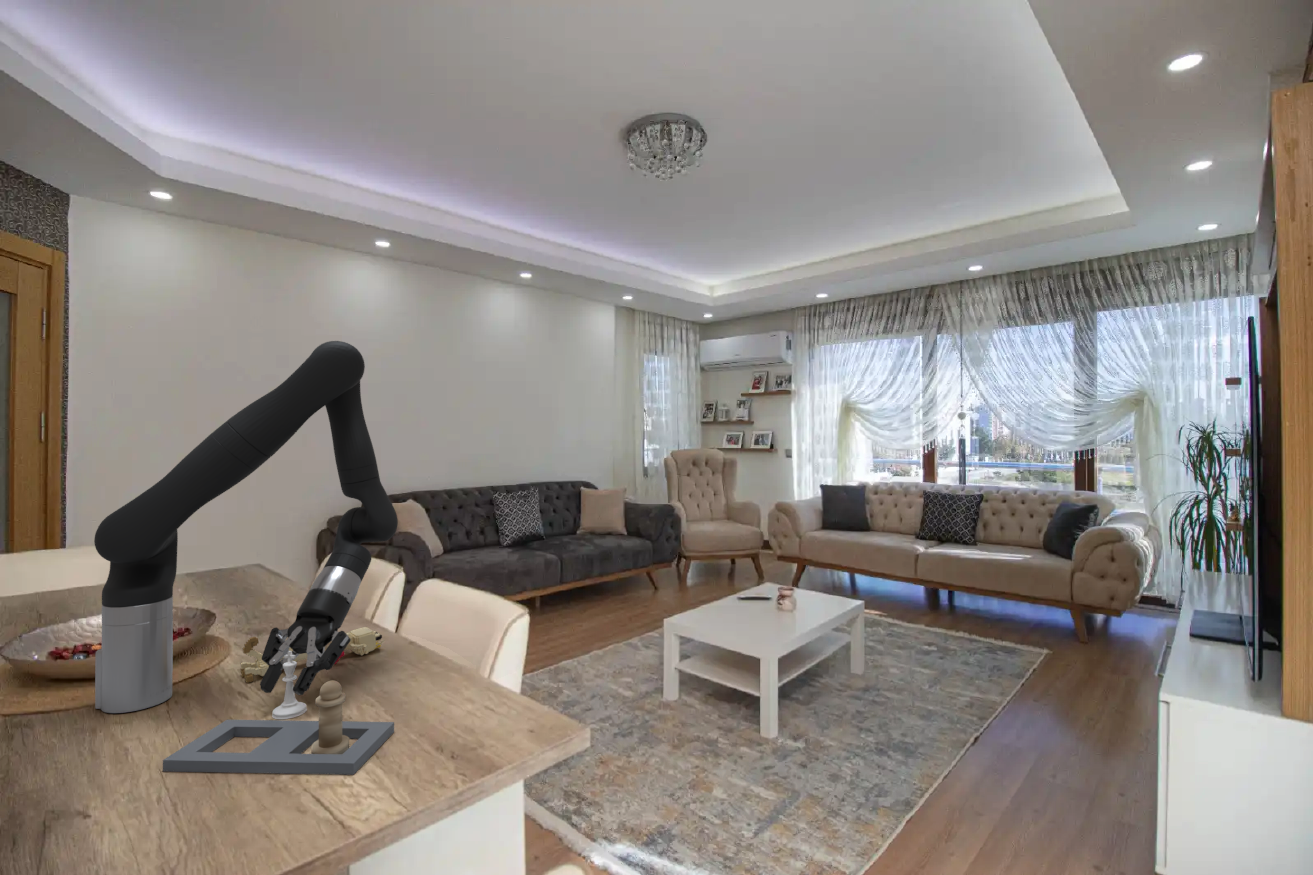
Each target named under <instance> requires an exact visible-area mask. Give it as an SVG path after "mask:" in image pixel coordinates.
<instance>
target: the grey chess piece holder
mask: <svg viewBox="0 0 1313 875" xmlns="http://www.w3.org/2000/svg"><path fill="white" fill-rule="evenodd" d="M394 733H395V721H348V720H345V721H344V720H342V735H345V736H348V737H349V739H355V740H356V739H357V740H356V741H355V742H354V743H352V745H351V746H349V749H348V750H347V751H345V752H344V753H343V754H311V753H304V752H305V751H306V750H308V748H310V747H311V746H312V744H313V743H314V742H315V741H317V740H319V720H291V719H290V720H289V719H275V720H274V719H225V720H224V721H222V722H221V723H219V724H218V725H216V726H214V727H213V728H211V729H210V730H208V731H206V732H205V733H203V734H202V735H200V736H199V737H198V738H196V739H194V740H192V741H190V742H189V743H188V744H186V745H184V746H182V747H181V748H180V749H178V750H177V751H175V752H173V753H171V754H170V755H169V756H167V757H165V758H163V760H162V772H177V773H178V772H179V773H180V772H181V773H185V772H186V773H187V772H188V773H189V772H190V773H191V772H192V773H235V774H237V773H240V774H241V773H242V774H243V773H244V774H289V775H290V774H293V775H294V774H296V775H297V774H298V775H299V774H300V775H301V774H302V775H305V774H306V775H348V776H349V775H355V774H356V773H357V772H359V769H360V768H361V767H362V766H363V765H364V764H366V763H367V761H368V760H369V759H370V758H371V757H372V756H373V755H374V754H375V753H376V752H377V751H378V750H379V748H381V747H382V745H383V744H384V743H385V742H386V741H387V740H388V739H389V738H390V737H391V736H393V734H394ZM235 737H237V738H239V737H242V738H243V737H244V738H246V737H247V738H267V739H266V740H265V741H263V742H261V743H260V744H259V745H258V746H257V747H255V748H253V749H252V750H251V751H250V752H224V751H222V752H221V751H220V752H218V751H217V752H216V750H217V749H218V748H220V747H221V746H223V745H224V744H225V743H227V742H228V741H230V740H231V739H233V738H235Z"/></svg>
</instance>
